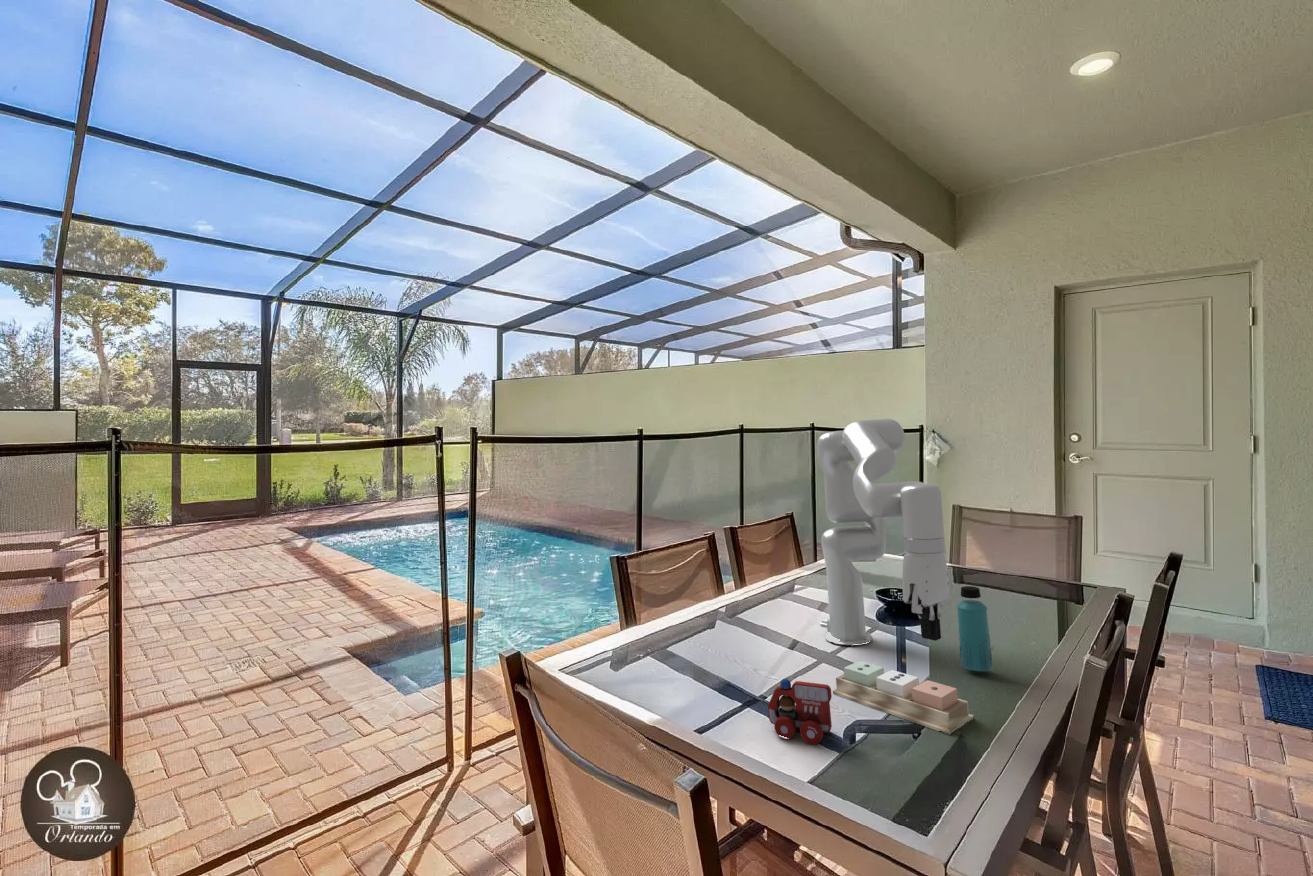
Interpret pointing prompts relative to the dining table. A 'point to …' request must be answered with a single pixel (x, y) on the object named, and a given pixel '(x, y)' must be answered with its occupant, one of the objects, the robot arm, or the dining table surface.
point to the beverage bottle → (974, 631)
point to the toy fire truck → (801, 710)
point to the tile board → (904, 706)
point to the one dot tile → (935, 695)
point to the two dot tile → (863, 673)
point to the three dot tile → (896, 683)
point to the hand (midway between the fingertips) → (931, 638)
